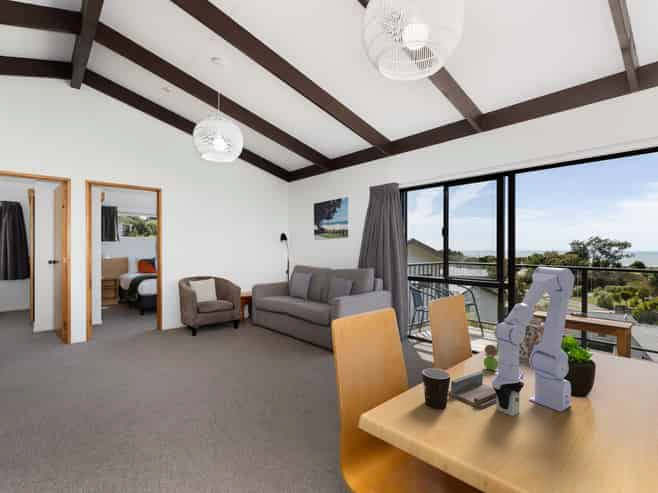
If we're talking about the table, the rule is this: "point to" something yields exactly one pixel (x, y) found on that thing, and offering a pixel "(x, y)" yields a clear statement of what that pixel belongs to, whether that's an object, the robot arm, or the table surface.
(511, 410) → the cabinet block
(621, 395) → the table surface
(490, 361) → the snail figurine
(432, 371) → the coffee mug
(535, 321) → the decorative jar
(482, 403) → the cleat board
